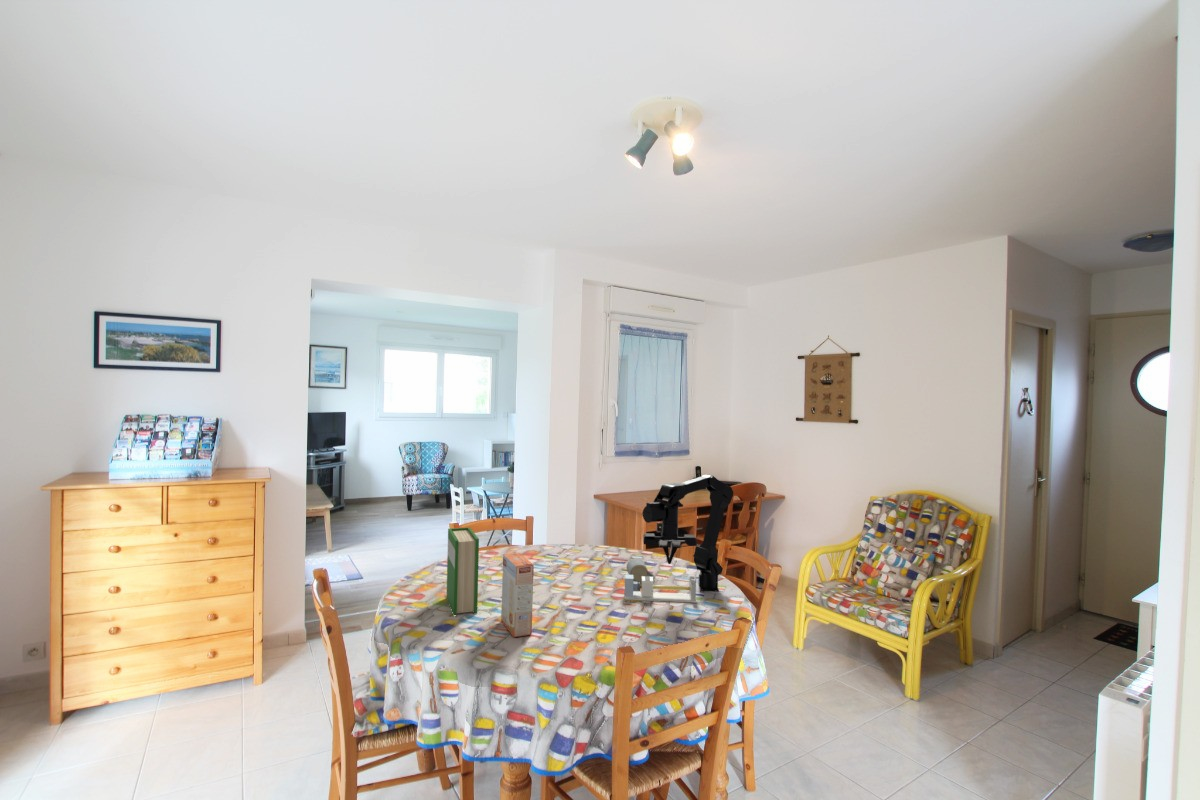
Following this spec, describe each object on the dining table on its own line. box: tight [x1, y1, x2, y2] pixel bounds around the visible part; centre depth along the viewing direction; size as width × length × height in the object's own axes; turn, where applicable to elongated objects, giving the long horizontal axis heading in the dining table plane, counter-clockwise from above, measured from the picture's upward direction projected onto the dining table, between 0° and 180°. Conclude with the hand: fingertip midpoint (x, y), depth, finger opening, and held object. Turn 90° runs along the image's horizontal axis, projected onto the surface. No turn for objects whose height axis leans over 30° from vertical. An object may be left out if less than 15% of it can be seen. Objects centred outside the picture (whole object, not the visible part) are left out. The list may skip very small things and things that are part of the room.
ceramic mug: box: [626, 557, 656, 583], centre depth 211 cm, size 11×8×8 cm
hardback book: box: [446, 526, 480, 616], centre depth 181 cm, size 18×7×24 cm, turn 23°
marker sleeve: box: [640, 576, 654, 597], centre depth 192 cm, size 4×5×6 cm
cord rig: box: [624, 574, 697, 603], centre depth 192 cm, size 25×7×7 cm, turn 87°
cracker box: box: [500, 552, 535, 638], centre depth 164 cm, size 14×6×21 cm, turn 25°
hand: (669, 563), depth 193 cm, fingers closed
